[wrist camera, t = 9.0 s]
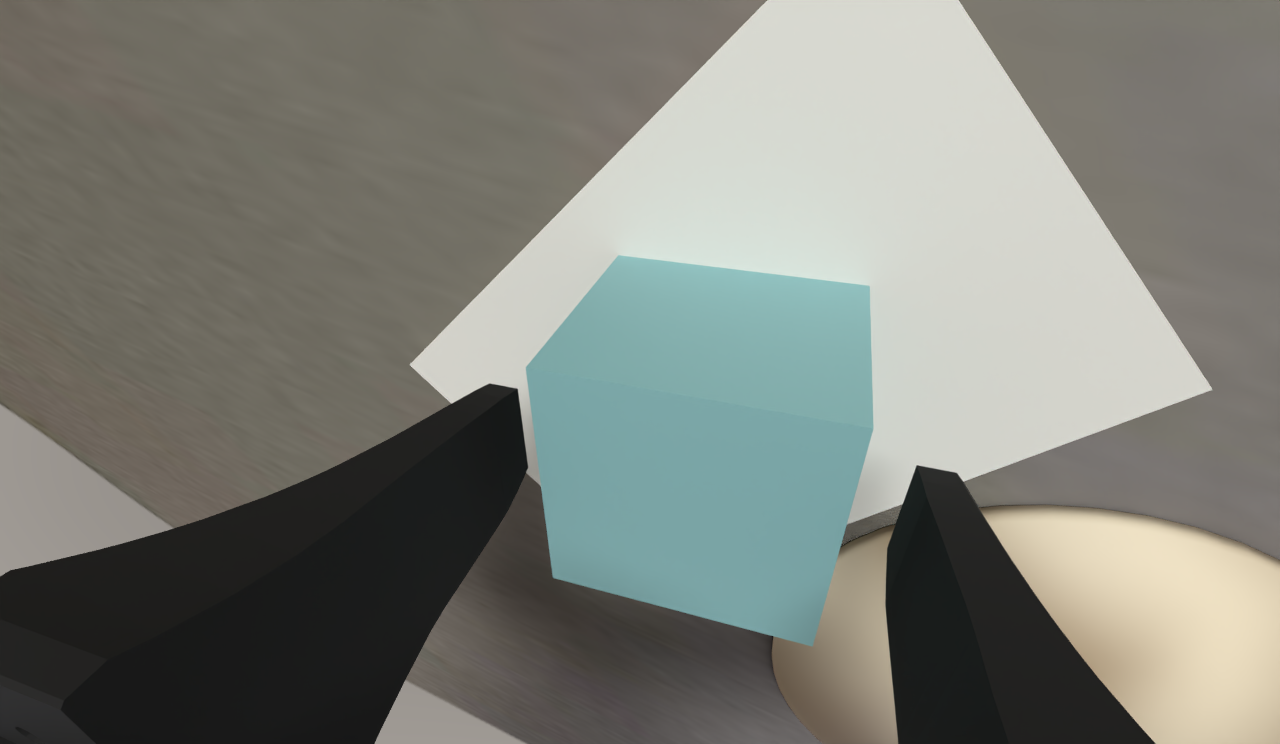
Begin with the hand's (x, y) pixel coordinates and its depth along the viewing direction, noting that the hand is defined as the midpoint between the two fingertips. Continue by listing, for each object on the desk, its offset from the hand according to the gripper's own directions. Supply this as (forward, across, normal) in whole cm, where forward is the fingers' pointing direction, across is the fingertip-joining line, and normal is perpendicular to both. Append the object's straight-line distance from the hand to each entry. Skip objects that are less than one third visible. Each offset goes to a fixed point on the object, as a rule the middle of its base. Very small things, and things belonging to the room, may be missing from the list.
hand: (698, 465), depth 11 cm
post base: (+4, -9, +9) cm, 13 cm away
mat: (+4, 0, 0) cm, 4 cm away
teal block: (+3, 0, 0) cm, 3 cm away
